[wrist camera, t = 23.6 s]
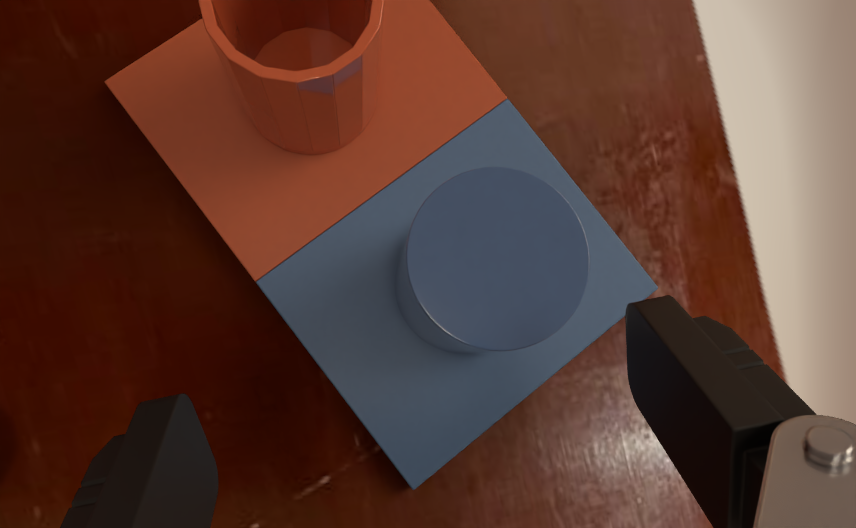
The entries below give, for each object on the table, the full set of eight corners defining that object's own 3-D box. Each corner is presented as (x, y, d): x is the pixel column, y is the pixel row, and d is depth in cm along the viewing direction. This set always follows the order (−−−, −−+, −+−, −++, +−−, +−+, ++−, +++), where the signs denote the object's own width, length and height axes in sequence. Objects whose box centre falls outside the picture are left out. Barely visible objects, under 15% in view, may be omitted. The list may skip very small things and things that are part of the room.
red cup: (324, 2, 31) (311, -121, 23) (404, 105, 31) (419, 15, 23) (214, 75, 30) (161, -28, 22) (295, 181, 30) (271, 116, 22)
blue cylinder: (473, 191, 30) (513, 131, 22) (557, 297, 30) (627, 274, 22) (366, 271, 29) (367, 238, 21) (451, 382, 29) (484, 390, 21)
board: (362, -75, 32) (362, -85, 32) (651, 289, 31) (659, 287, 30) (110, 88, 30) (103, 81, 29) (412, 487, 29) (413, 490, 28)
